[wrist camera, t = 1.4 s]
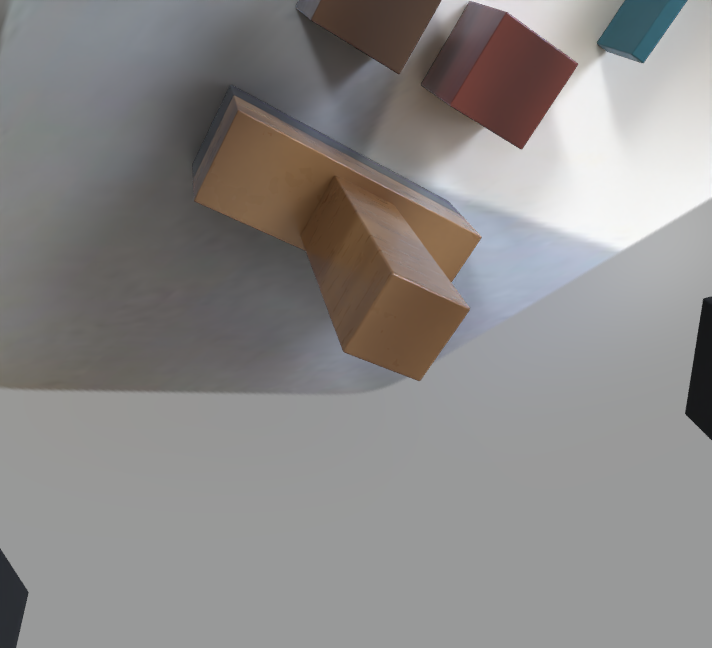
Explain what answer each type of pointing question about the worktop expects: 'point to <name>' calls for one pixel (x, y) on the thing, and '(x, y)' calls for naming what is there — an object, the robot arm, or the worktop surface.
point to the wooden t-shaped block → (343, 229)
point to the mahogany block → (499, 73)
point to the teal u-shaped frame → (639, 27)
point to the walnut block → (374, 25)
